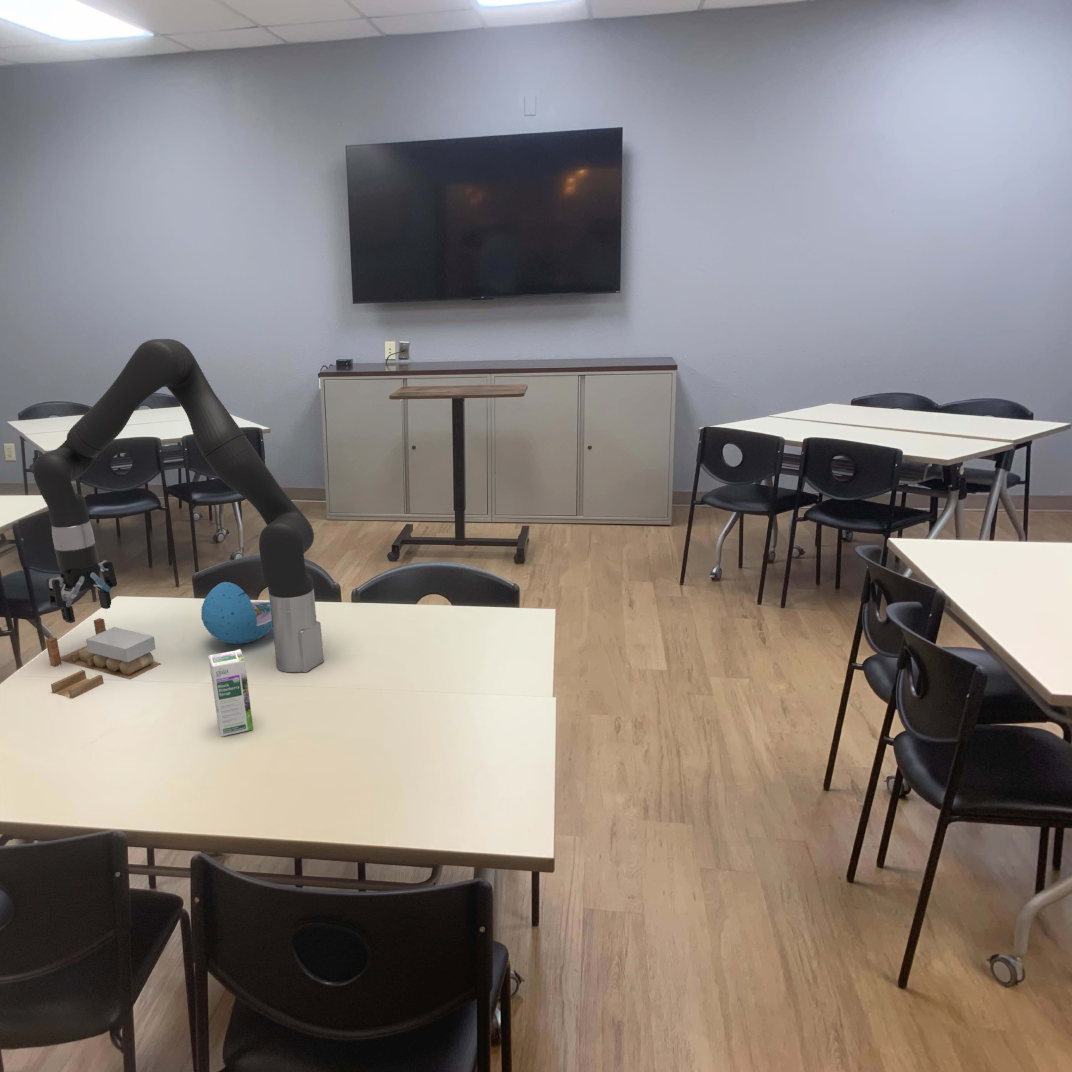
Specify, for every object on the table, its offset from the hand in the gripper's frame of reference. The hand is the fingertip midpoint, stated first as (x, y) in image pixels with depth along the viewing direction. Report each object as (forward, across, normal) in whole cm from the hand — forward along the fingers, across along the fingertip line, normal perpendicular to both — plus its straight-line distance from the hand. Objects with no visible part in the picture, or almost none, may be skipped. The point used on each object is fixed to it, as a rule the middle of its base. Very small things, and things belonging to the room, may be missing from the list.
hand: (88, 614), depth 174 cm
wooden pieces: (+11, -4, -4) cm, 13 cm away
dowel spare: (+10, 0, 0) cm, 10 cm away
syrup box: (+12, -8, -48) cm, 50 cm away
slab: (+7, 0, -9) cm, 11 cm away
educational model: (+12, +23, -21) cm, 33 cm away
